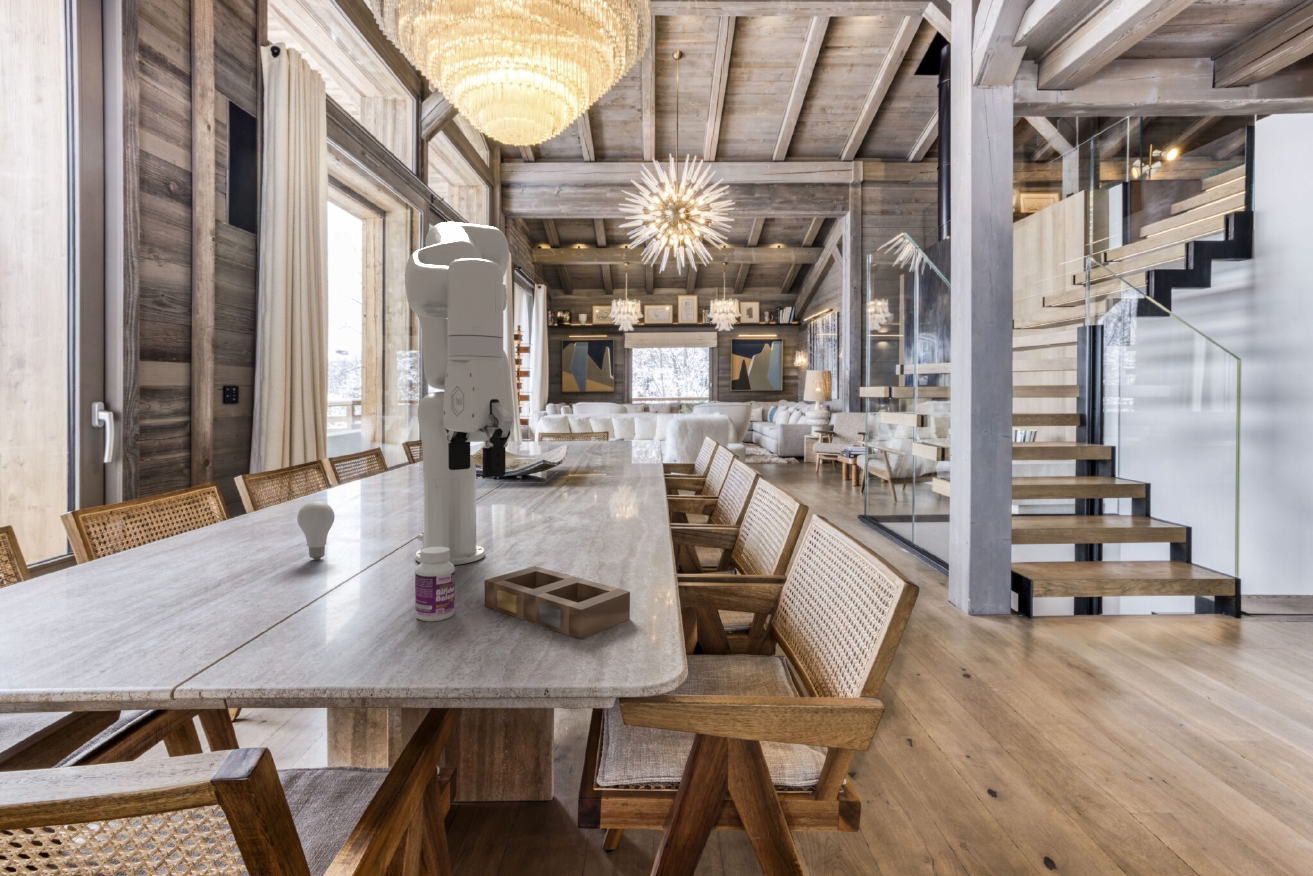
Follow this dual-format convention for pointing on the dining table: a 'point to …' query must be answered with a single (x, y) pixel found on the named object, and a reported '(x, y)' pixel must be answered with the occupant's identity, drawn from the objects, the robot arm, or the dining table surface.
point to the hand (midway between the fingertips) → (476, 472)
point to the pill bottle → (434, 585)
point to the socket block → (558, 601)
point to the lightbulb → (316, 526)
